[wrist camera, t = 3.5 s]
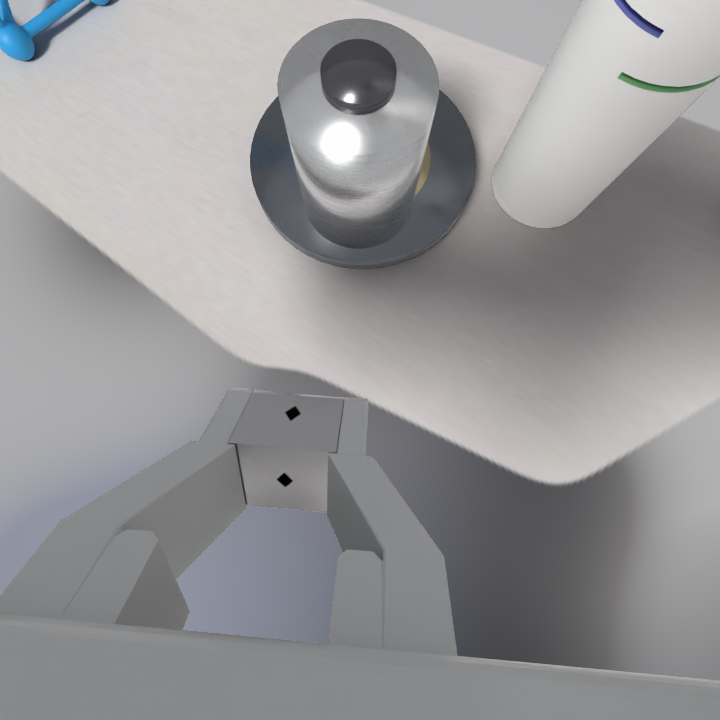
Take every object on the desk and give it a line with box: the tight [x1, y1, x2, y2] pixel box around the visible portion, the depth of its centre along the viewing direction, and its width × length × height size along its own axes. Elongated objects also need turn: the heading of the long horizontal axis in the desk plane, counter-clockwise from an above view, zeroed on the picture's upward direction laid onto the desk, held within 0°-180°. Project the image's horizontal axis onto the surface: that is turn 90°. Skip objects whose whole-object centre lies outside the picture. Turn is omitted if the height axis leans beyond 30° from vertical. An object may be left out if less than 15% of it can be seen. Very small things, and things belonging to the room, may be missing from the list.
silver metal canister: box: [277, 19, 439, 249], centre depth 19 cm, size 7×7×9 cm
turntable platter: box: [250, 90, 475, 269], centre depth 25 cm, size 15×15×1 cm
